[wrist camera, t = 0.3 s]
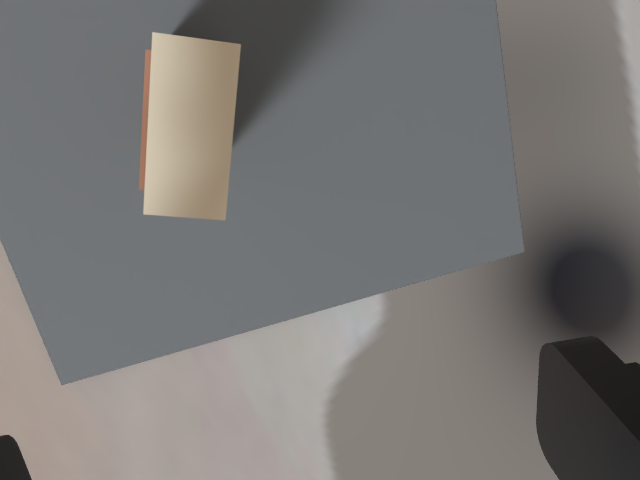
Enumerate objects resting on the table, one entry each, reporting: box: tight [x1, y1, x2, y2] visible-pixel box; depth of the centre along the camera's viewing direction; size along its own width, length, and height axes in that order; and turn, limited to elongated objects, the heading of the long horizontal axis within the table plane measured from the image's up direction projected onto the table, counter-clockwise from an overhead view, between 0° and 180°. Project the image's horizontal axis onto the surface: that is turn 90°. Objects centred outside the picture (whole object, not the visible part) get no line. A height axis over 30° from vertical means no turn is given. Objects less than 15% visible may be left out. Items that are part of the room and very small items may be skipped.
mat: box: [0, 0, 525, 385], centre depth 34 cm, size 24×30×1 cm
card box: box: [139, 32, 241, 220], centre depth 27 cm, size 3×6×12 cm, turn 173°
